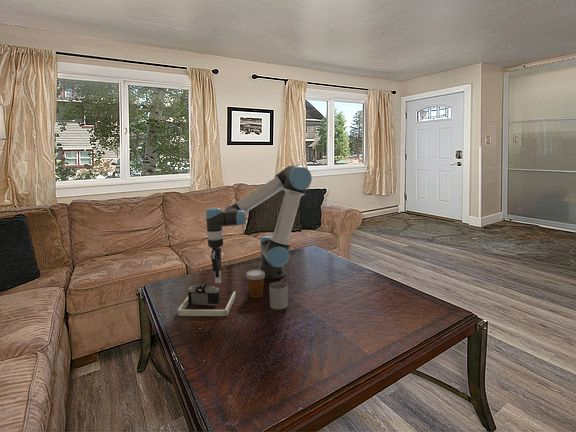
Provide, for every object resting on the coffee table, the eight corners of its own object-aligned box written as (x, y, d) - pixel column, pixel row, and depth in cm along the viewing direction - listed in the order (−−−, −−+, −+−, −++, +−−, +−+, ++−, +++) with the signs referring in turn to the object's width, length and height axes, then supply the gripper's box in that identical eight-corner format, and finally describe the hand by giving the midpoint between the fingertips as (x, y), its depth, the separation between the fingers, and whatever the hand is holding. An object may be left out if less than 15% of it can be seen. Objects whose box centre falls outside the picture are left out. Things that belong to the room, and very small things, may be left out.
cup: (269, 302, 167) (269, 282, 165) (286, 301, 167) (286, 281, 165) (270, 310, 158) (269, 289, 156) (288, 309, 159) (288, 288, 157)
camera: (224, 299, 171) (223, 279, 169) (217, 307, 162) (216, 286, 160) (194, 297, 173) (193, 278, 171) (186, 305, 165) (184, 285, 163)
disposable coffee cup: (250, 301, 168) (250, 277, 166) (243, 294, 176) (242, 271, 174) (268, 297, 172) (268, 273, 170) (261, 290, 180) (260, 268, 178)
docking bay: (235, 296, 174) (235, 291, 173) (226, 316, 153) (226, 310, 153) (192, 296, 175) (191, 291, 174) (177, 315, 154) (176, 310, 154)
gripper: (211, 235, 183) (214, 278, 188) (204, 241, 171) (207, 287, 175) (225, 235, 183) (228, 277, 188) (219, 241, 170) (222, 287, 175)
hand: (218, 282), depth 181 cm, fingers closed
